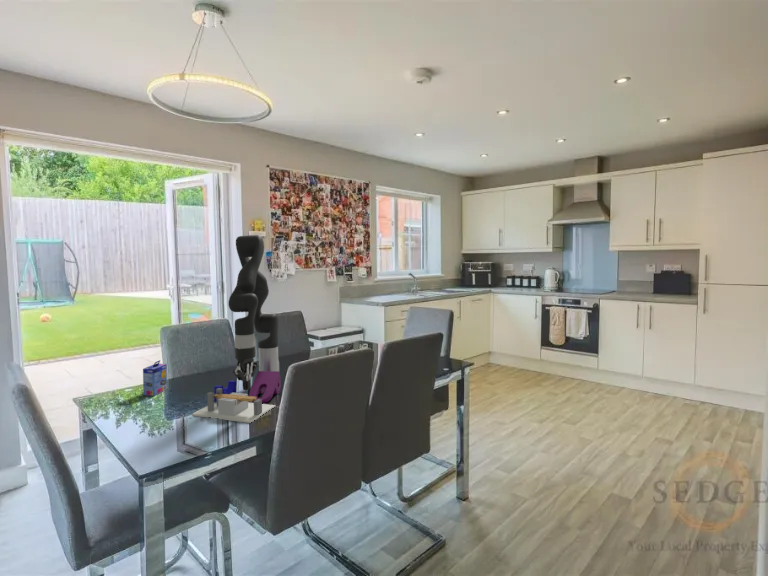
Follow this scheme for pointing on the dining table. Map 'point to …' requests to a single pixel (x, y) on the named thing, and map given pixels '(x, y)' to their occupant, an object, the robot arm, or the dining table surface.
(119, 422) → the dining table surface
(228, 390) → the cable clip
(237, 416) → the board
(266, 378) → the mounting bracket
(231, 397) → the wooden strip
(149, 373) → the ink cartridge box
